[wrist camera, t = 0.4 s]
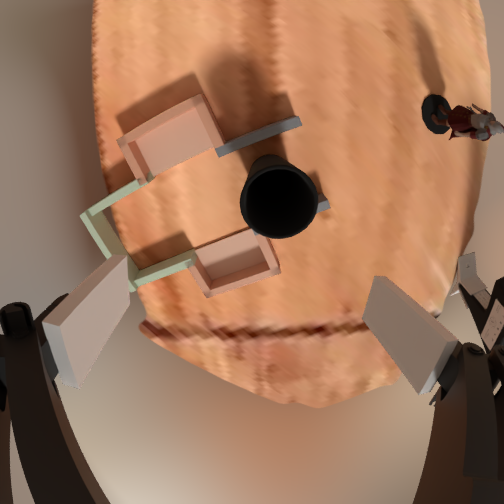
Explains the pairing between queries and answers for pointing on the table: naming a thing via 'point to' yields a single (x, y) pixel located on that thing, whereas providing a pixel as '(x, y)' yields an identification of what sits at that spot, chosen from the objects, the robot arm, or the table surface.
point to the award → (481, 302)
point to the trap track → (168, 155)
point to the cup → (278, 198)
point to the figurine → (458, 119)
